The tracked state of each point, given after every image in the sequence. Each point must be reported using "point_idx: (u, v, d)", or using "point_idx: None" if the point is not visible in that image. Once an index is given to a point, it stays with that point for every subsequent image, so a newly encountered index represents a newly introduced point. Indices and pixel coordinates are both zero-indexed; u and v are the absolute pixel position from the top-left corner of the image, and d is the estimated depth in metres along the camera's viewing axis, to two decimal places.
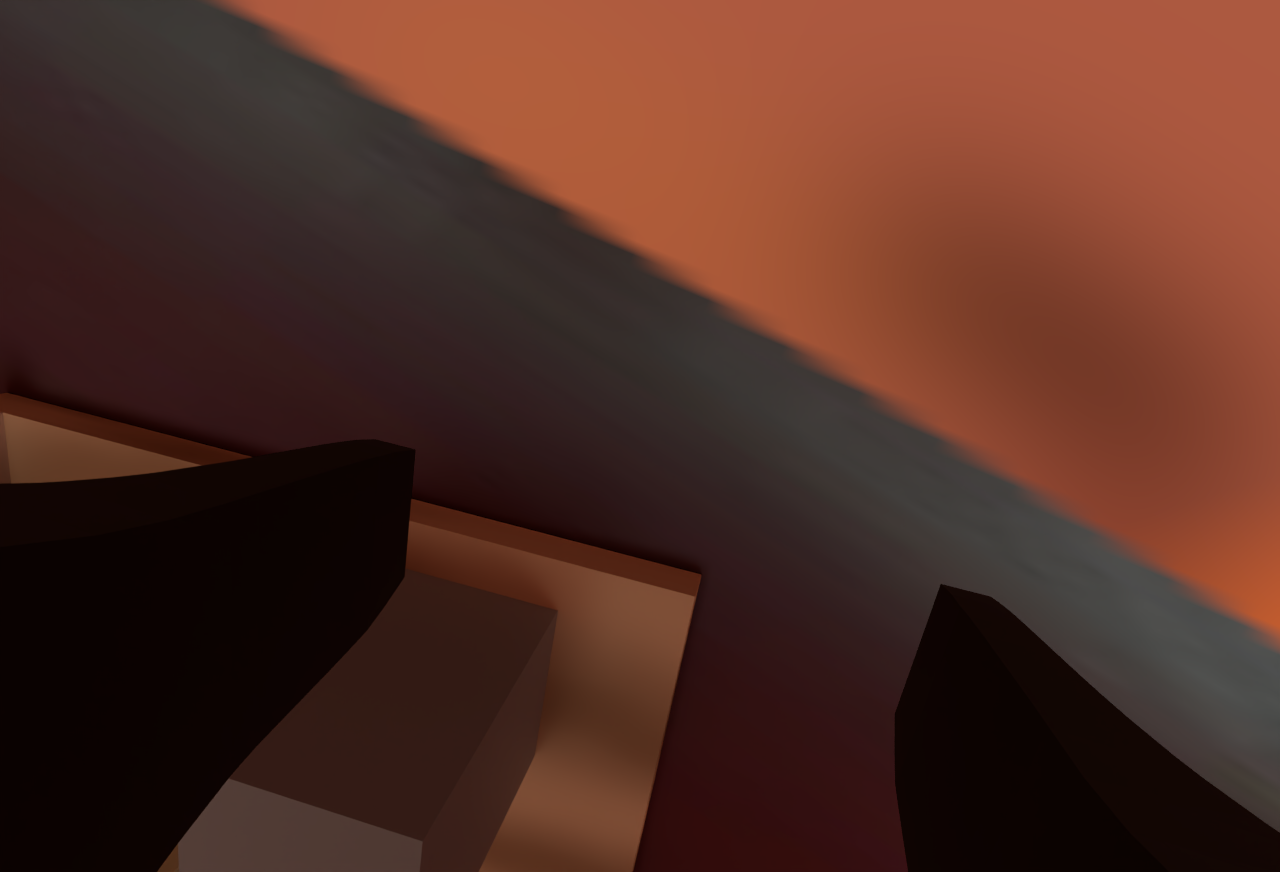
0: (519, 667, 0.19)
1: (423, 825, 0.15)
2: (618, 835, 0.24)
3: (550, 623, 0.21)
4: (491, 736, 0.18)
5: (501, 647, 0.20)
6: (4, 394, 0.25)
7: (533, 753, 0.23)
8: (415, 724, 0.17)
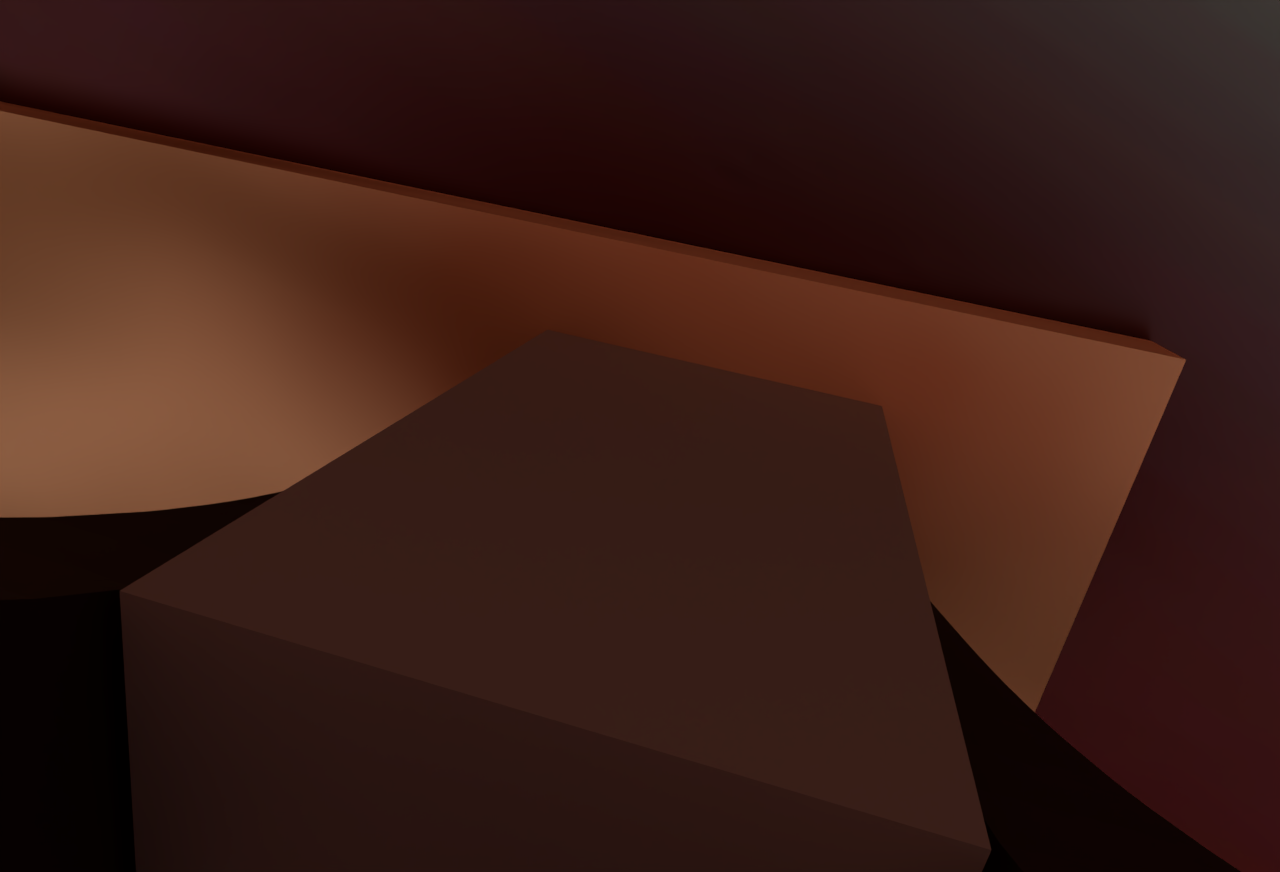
0: (888, 471, 0.09)
1: (955, 797, 0.04)
2: None
3: (883, 420, 0.11)
4: None
5: (828, 441, 0.10)
6: None
7: None
8: (750, 549, 0.07)
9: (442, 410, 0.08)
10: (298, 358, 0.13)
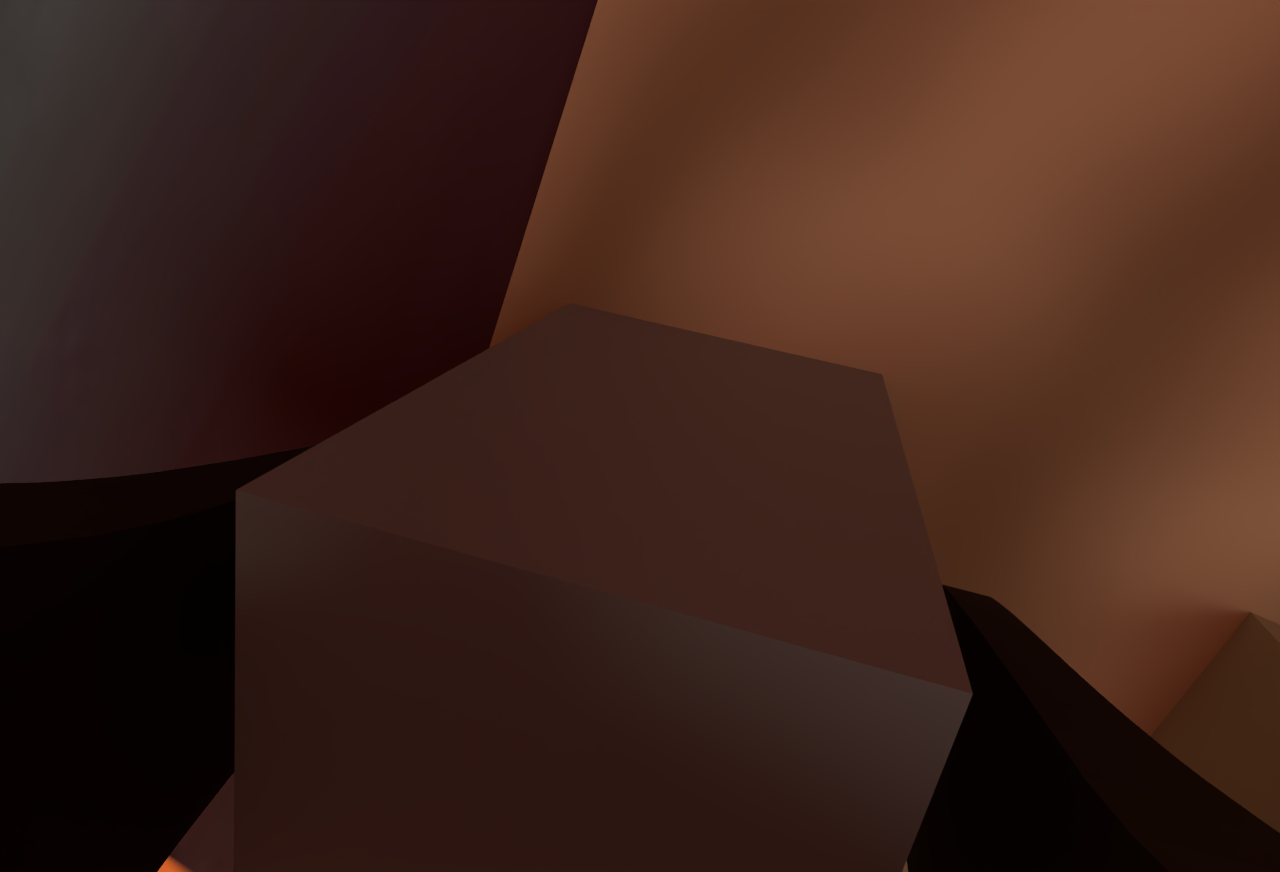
0: (887, 425, 0.10)
1: (944, 659, 0.05)
2: None
3: (883, 386, 0.12)
4: None
5: (832, 401, 0.10)
6: None
7: None
8: (766, 480, 0.08)
9: (483, 365, 0.09)
10: (692, 308, 0.13)
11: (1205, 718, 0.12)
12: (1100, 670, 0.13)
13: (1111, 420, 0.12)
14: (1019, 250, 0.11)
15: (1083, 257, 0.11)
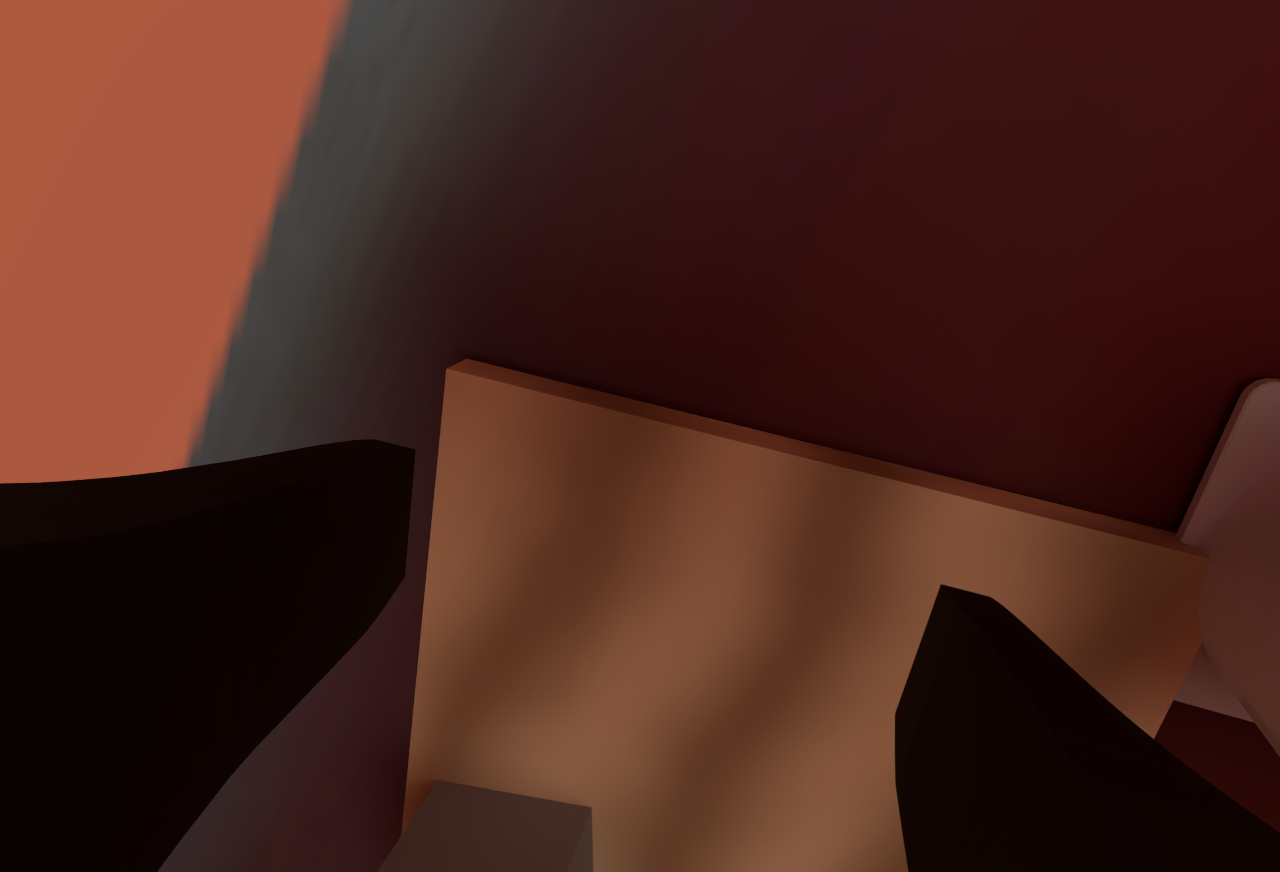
0: None
1: None
2: (763, 472, 0.20)
3: (585, 823, 0.24)
4: None
5: (542, 859, 0.22)
6: None
7: None
8: None
9: None
10: (495, 781, 0.25)
11: None
12: None
13: (701, 824, 0.23)
14: (634, 754, 0.23)
15: (662, 757, 0.23)
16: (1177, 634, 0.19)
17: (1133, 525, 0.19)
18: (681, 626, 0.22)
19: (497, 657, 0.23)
